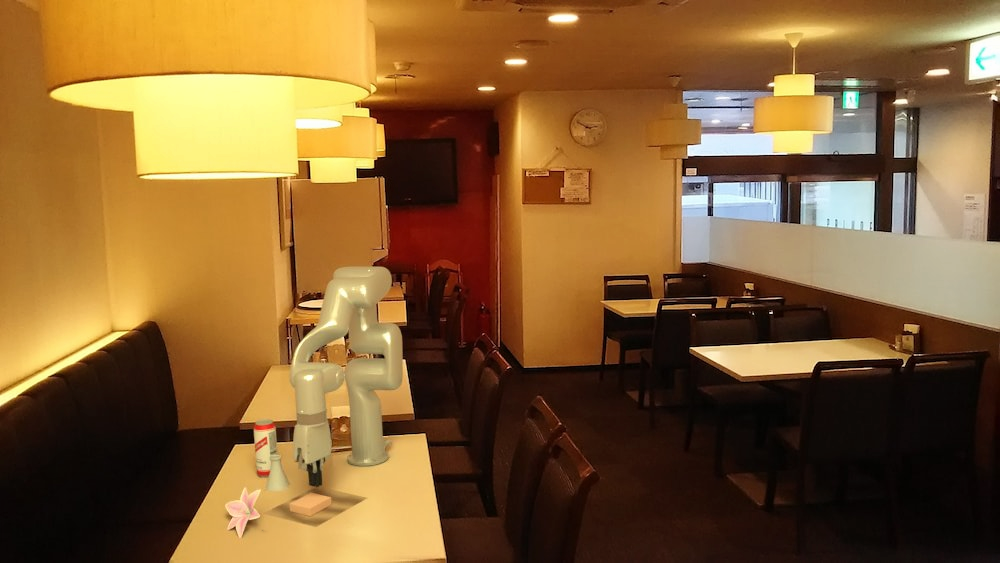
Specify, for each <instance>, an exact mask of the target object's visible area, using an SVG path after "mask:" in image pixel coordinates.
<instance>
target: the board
mask: <svg viewBox="0 0 1000 563" xmlns="http://www.w3.org/2000/svg"><path fill="white" fill-rule="evenodd" d="M310 493H314V494H319V495H323V496H327V497H331V504H332V505H330V506H328V507H326V508H324V509H323V510H321V511H319V512H317V513H315V514H313V515H312V516H308V515H304V514H299V513H295V512H291V511H290V505H289V504H290V503H292V502H294V501H296V500H298V499H300V498H302V497H304V496H306V495H308V494H310ZM367 499H368V497H366V496H361V495H356V494H353V493H347V492H343V491H339V490H335V489H330V488H326V487H321V486H319V487H313V488H311V489H309V490H307V491H305V492H303V493H302V494H301V493H300V494H299V495H297V496H296V497H292V498H291V499H289V500H287V501H285V502H283V503H281V504H279V505H278V506H275V507H273V508H272V509H269V510H268V511H266V512H263V514H264V515H268V516H270V517H276V518H279V519H283V520H287V521H290V522H295V523H297V524H298V523H299V524H302V525H305V526H306V525H307V526H309V527H315V528H317V527H319V526H320V525H322V524H324V523H326V522H328V521H329V520H331V519H333V518H335V517H336V516H338V515H340V514H342V513H343V512H345V511H347V510H350V508H353V507H354V506H356V505H357V504H360V503H362V502H363V501H365V500H367Z"/></svg>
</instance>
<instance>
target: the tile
mask: <svg viewBox="0 0 1000 563" xmlns="http://www.w3.org/2000/svg"><path fill="white" fill-rule="evenodd" d="M289 505H290V511H291V512H295V513H299V514H304V515H308V516H312V515H313V514H315V513H317V512H319V511H321V510H323V509H324V508H326V507H328V506H330V505H332V504H331V497H327V496H323V495H319V494H314V493H310V494H308V495H306V496H304V497H302V498H300V499H298V500H296V501H294V502H292V503H290V504H289Z"/></svg>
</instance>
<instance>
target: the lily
mask: <svg viewBox="0 0 1000 563" xmlns="http://www.w3.org/2000/svg"><path fill="white" fill-rule="evenodd" d="M260 494H261V489H256V490H254V491H253V492H251V493H249V492H248V490H247V487H246V486H245V487H244V488H243V490H242V492H241V495H240V499H238V500H237V499H236V500H232V501H228V502H227V503H225V505H224V506H225V509H226V510H227V512H228V513H229V515H230V516H232V518H231V520H230V521H229V523H228V525H227V528H226V529H227V531H229V530H232V529H233V528H234V527H235V529H236V533H237V535H238V538H240V539H242V536H243V533H244V532H245V529H246V526H247V523H248V521H251V520H258V518H260V516H261V515H260V514H259V511H258V510H257V509H256V508H255V507H254V506H255V504H256V501H257V499H258V497H259V495H260Z"/></svg>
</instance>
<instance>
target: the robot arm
mask: <svg viewBox="0 0 1000 563" xmlns="http://www.w3.org/2000/svg"><path fill="white" fill-rule="evenodd" d="M332 278H333V279H331V280H330V281H328V283H327V286H326V288H325V292H324V296H323V302H322V304H321V305H322V306H321V308H320V313H319V318H318V321H317V324H316V326H315V327H314V328H313V329H312V330H310V331H309V332H308V333H307V334H306V335H305V336H304V337H303V339H302V340H300V342H299V343H298V345H297V346H296V347H295V350H294V353H293V357H292V360H291V365H290V369H289V382H290V385H291V387H292V388H293V389H294V395H295V408H296V410H295V412H296V413H295V414H296V424H295V425H294V429H293V439H292V440H293V441H292V442H293V443H292V452H293V454H292V455H293V461H294V462H295V463H298V465H297V469H298V470H302V471H303V470H306V472H307V473H308V474H307V475H308V485H309V486H310V487H313V488H315V487H321V486H322V485H323V474H322V473H323V472H322V471H323V470H324V464H325V461H326V460H328V459H329V458H330V457H331V452H332V436H331V429H330V424H329V420H328V418H327V412H328V410H327V401H326V394H328V393H333V392H335V391H338V389H340V387H342V385H343V384H344V381H345V385H346V389H347V394H348V402H349V403H348V404H349V420H350V421H349V422H350V439H351V453H349V454H348V455H347V457H346V459H347V460H346V461H347V462H348V464H350V465H353V466H359V467H360V466H361V467H367V466H368V467H369V466H374V465H380V464H382V463H384V462H386V461H387V460H389V455H390V454H389V452H388V451H386V448H387V447H388V446H391V445H392V442H393V441H392V439H390V438H387V439H385V440H384V439H383V438H384V436H383V435H384V434H383V433H384V432H383V418H382V415H383V414H382V402H381V399H380V396H379V395H378V394H377V392H376V391H396V390H398V389H399V388H401V386H402V382H403V377H404V370H403V368H404V365H403V362H404V361H403V360H404V359H403V335H402V332H401V329H400V327H399V326H398V324H396V323H393V322H379V321H378V313H377V312H378V311H377V304H379V303H380V302H381V300H382V299H384V297H387V296H386V295H388V293H389V292H390V290H391V288H392V284H393V283H392V282H393V280H392V278H393V277H392V274H391V271H390V270H389V269H388V268H386V267H384V266H359V265H358V266H343V267H338V268H337V269H336V270H334V272H333V276H332ZM347 334H348V344H349V347H350V350H351V351H352V352H353V353H355V354H361V355H383V356H384V358H375V357H357V358H353V359H351V360H348V362H347V363H346V364H345V367H344V369H343V367H342V365H340V364H338V363H333V362H314V361H313V362H310V359H311V358H312V356H313V354H314V353H315V352H316V351H317V350H319V349H321V348H322V347H324V346H326V345H329V344H331V343H333V342H335V341H337V340H340V339H342V338H343V337H345V336H347Z"/></svg>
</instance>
